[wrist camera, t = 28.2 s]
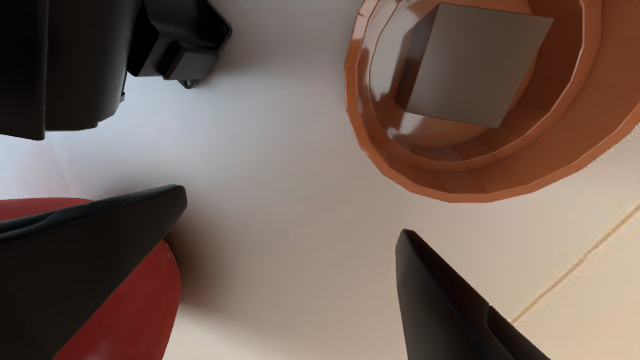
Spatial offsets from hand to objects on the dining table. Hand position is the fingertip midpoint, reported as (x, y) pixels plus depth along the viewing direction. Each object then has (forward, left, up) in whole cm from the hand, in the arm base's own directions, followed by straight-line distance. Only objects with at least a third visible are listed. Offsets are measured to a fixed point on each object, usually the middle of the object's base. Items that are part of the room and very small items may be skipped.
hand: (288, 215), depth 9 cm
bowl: (+2, +10, -12) cm, 15 cm away
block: (+1, +9, -11) cm, 15 cm away
